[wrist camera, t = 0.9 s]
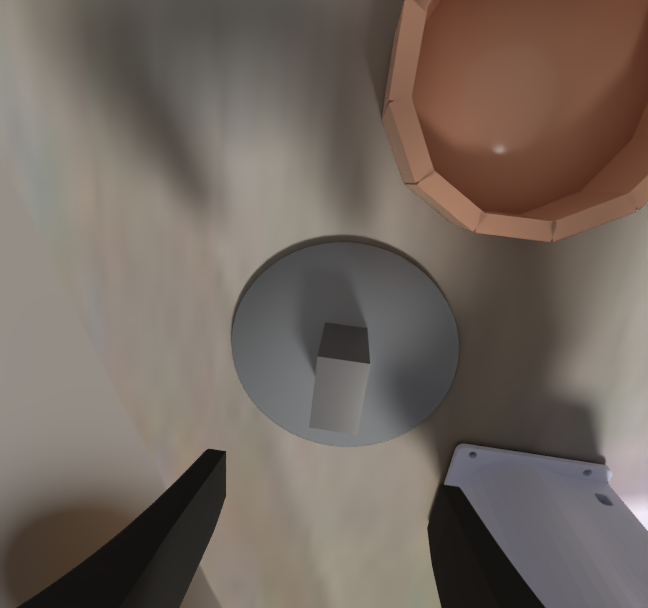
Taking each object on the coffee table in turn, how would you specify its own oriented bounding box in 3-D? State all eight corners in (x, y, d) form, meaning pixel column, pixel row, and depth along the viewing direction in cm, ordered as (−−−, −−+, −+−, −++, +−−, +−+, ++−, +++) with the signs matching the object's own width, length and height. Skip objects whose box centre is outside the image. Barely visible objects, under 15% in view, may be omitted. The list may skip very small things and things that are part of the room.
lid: (482, 257, 18) (525, 282, 13) (428, 451, 22) (446, 520, 18) (238, 226, 18) (199, 240, 14) (234, 421, 23) (204, 480, 18)
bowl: (725, -69, 12) (857, -157, 9) (600, 241, 17) (660, 255, 13) (414, -95, 13) (434, -189, 10) (367, 212, 17) (369, 219, 14)
